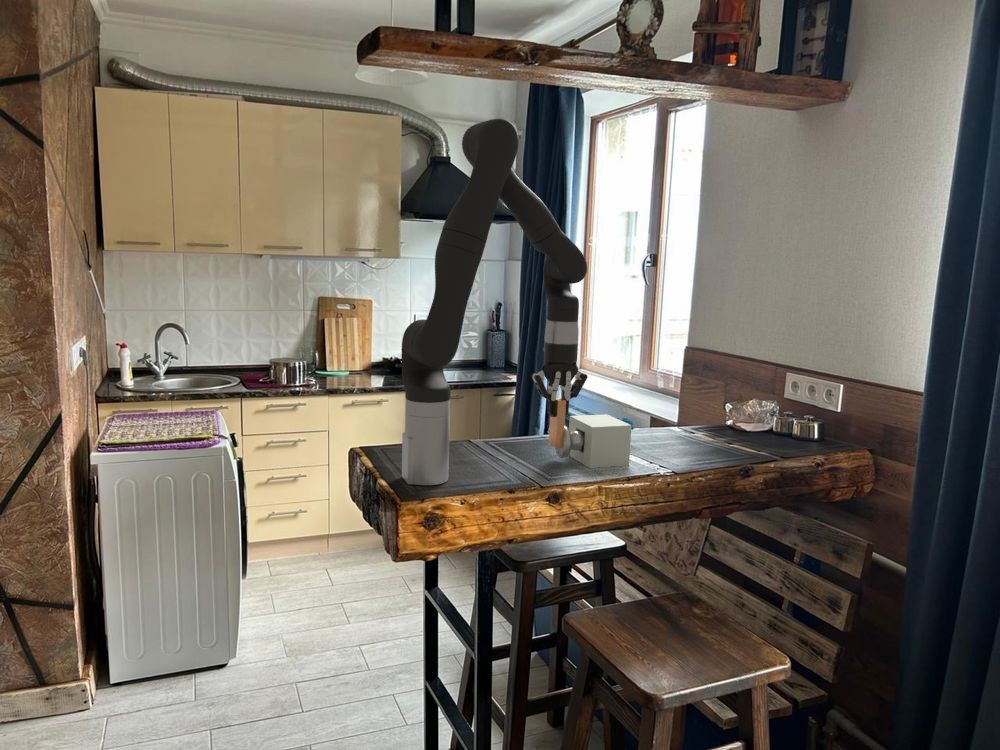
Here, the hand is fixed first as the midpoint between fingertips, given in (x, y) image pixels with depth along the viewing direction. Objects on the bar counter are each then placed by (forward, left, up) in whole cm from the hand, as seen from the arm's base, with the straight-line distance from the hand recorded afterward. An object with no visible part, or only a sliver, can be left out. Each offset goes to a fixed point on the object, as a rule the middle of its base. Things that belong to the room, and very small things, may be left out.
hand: (557, 415), depth 169 cm
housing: (+11, 0, -11) cm, 16 cm away
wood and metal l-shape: (+4, 0, -10) cm, 11 cm away
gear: (+22, +13, -11) cm, 28 cm away
